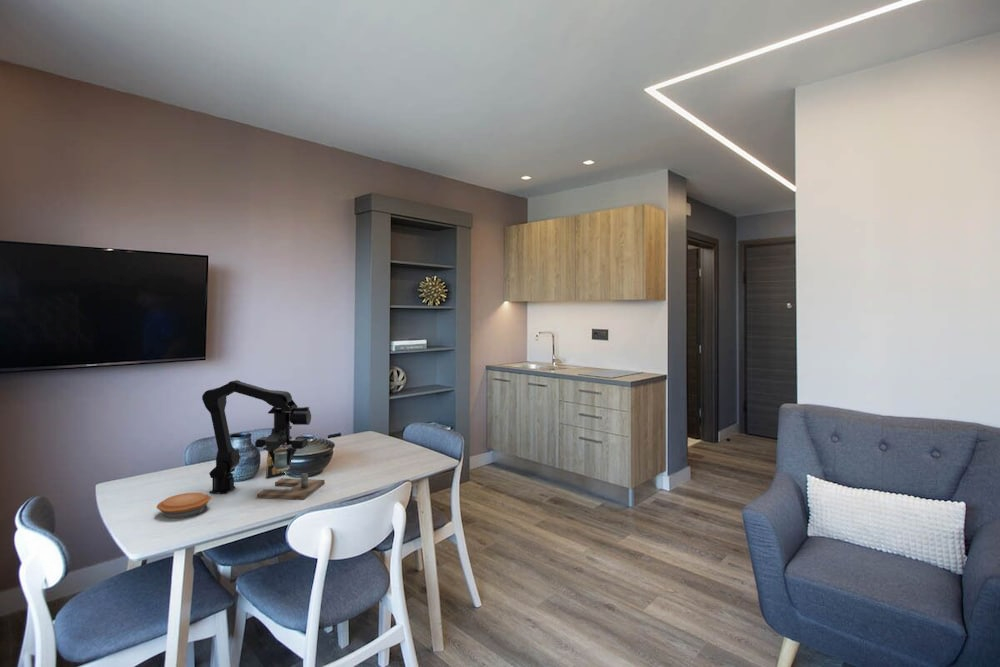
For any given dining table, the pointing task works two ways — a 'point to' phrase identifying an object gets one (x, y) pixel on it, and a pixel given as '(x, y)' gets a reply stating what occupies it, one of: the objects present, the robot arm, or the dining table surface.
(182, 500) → the pie
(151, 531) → the dining table surface
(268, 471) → the ammunition clip
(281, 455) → the thread spool
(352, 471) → the dining table surface
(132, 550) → the dining table surface
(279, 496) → the walnut notched board
